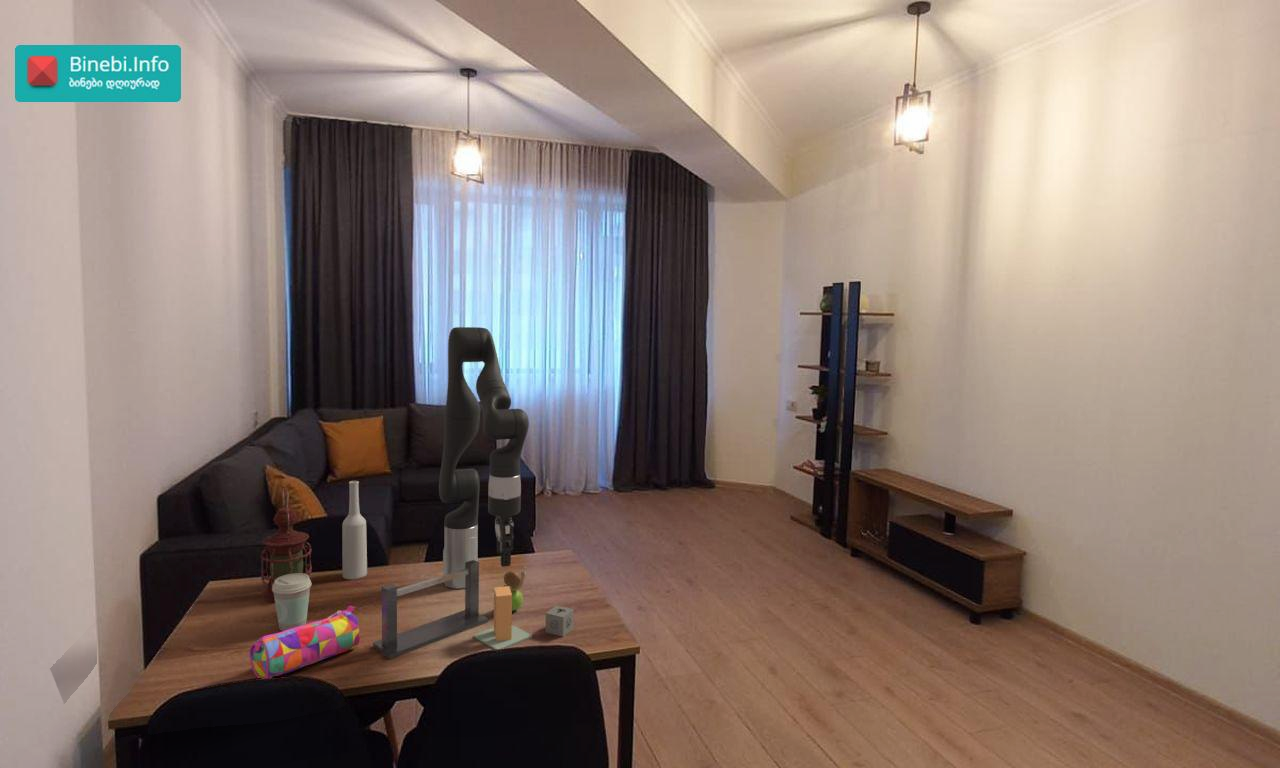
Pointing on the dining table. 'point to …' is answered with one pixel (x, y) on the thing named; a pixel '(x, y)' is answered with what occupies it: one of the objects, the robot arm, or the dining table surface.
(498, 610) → the c link
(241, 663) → the dining table surface
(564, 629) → the dice cube
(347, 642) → the pencil case
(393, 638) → the rail stand
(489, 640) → the felt mat
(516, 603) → the snail figurine
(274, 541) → the lantern
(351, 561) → the bottle
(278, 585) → the coffee cup
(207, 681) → the dining table surface
